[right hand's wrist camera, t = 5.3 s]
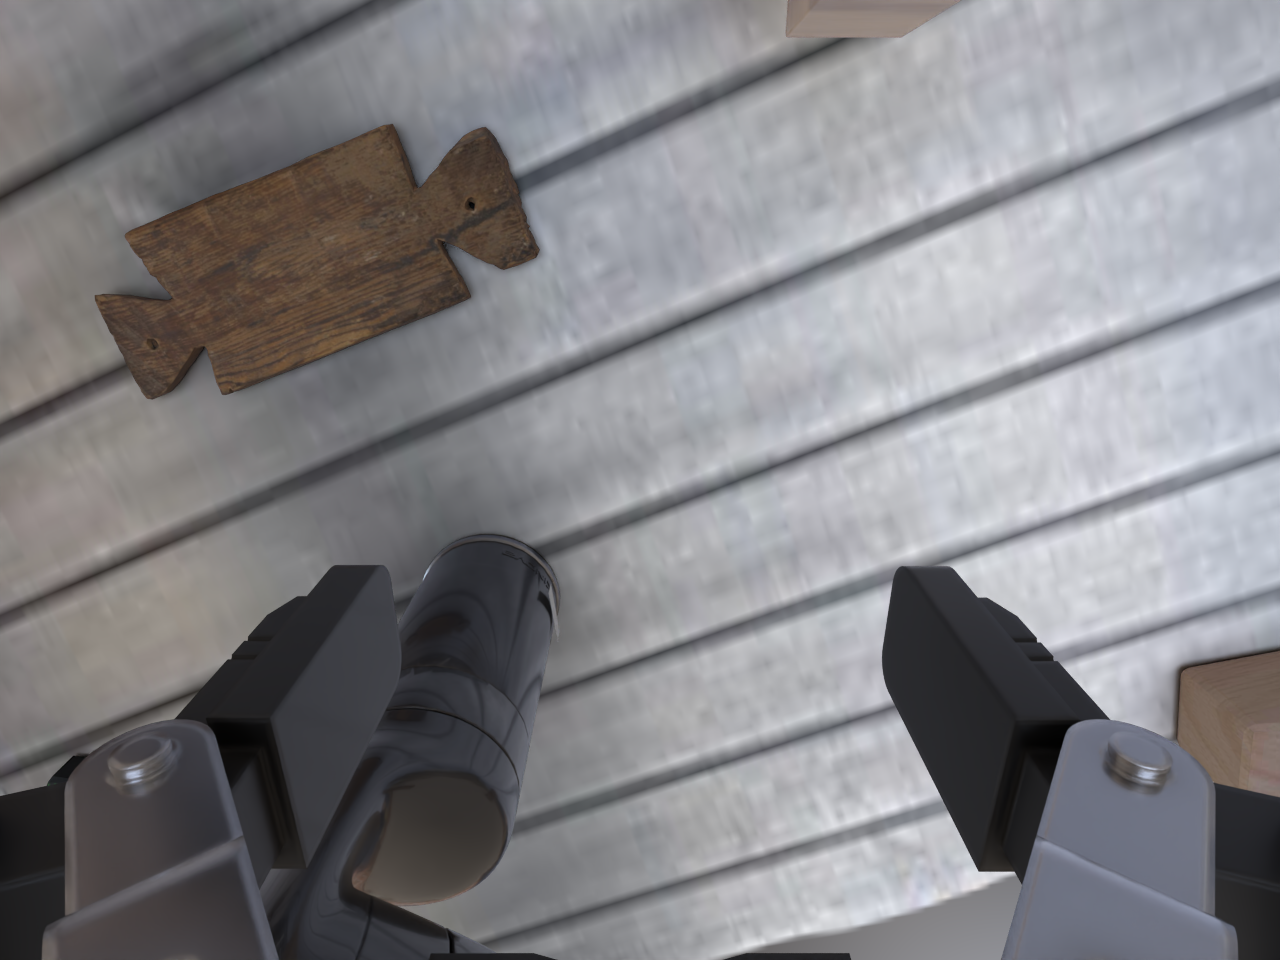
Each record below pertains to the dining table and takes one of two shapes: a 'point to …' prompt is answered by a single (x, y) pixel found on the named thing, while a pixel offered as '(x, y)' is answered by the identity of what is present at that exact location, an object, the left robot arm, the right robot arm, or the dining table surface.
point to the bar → (860, 17)
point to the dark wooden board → (314, 259)
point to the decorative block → (1234, 721)
